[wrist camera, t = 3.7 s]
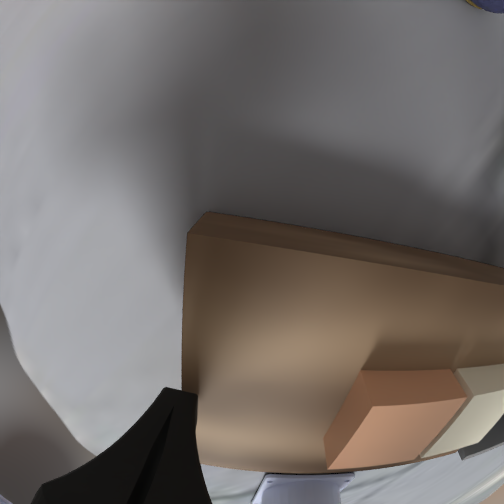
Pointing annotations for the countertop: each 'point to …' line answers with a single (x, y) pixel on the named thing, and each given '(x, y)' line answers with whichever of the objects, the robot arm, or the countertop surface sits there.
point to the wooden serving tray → (316, 332)
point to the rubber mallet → (488, 5)
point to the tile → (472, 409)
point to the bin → (485, 441)
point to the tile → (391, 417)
